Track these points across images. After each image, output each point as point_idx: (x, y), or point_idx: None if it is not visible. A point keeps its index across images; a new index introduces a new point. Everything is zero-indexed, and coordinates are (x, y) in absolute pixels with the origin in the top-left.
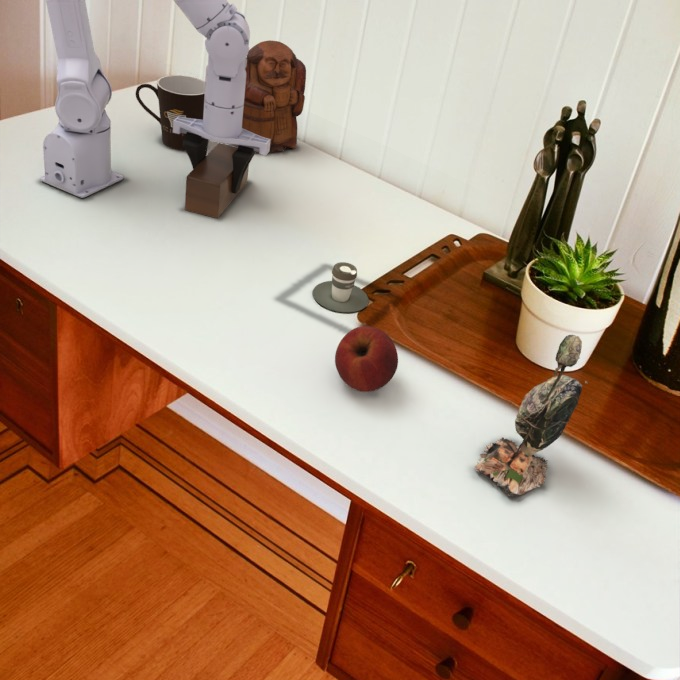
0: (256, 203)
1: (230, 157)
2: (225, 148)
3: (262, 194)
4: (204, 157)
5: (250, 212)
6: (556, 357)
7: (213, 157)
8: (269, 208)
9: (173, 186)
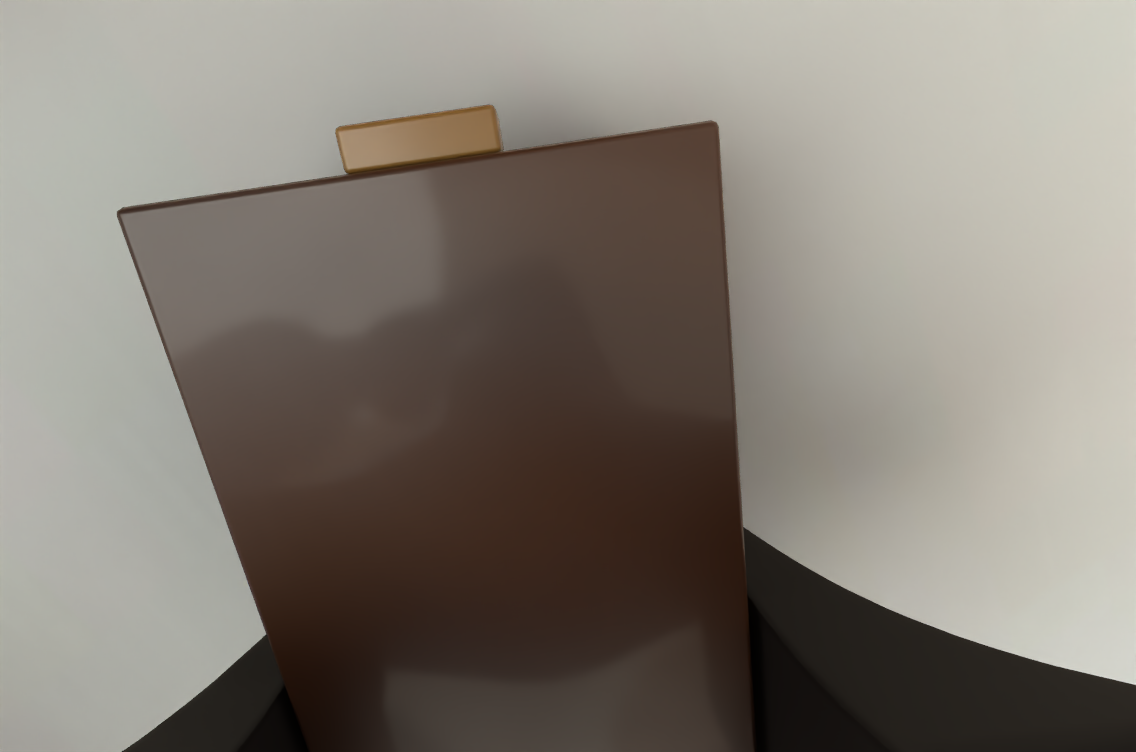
0: (827, 442)
1: (576, 563)
2: (350, 351)
3: (819, 273)
4: (298, 739)
5: (833, 580)
6: None
7: (400, 710)
8: (935, 448)
9: (196, 606)
